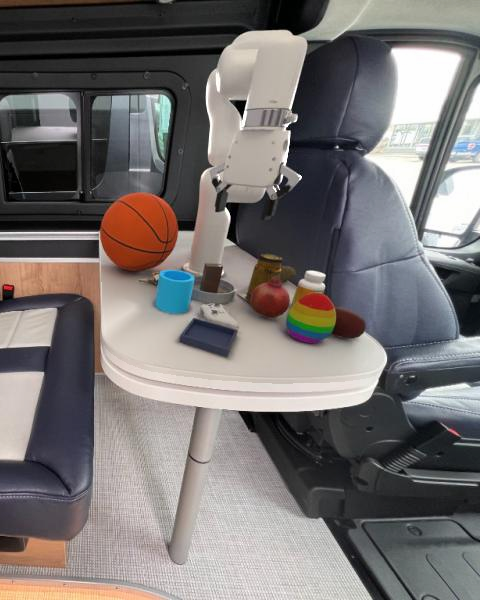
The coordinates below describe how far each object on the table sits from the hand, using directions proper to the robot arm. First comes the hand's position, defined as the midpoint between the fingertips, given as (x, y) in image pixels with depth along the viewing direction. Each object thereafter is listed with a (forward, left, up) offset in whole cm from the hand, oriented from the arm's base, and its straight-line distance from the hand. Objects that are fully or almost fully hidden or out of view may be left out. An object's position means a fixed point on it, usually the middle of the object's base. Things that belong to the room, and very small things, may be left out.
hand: (241, 215), depth 67 cm
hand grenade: (-36, +13, -20) cm, 43 cm away
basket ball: (-18, -33, -23) cm, 44 cm away
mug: (+1, -11, -24) cm, 26 cm away
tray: (+14, +1, -23) cm, 27 cm away
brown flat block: (-11, -4, -23) cm, 26 cm away
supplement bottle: (-15, +17, -24) cm, 33 cm away
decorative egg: (0, +18, -23) cm, 29 cm away
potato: (-6, +24, -17) cm, 30 cm away
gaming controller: (+5, +1, -23) cm, 24 cm away
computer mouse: (-10, -17, -23) cm, 31 cm away
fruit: (-5, +10, -24) cm, 26 cm away
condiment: (-14, +7, -24) cm, 28 cm away
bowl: (-10, -5, -23) cm, 26 cm away
